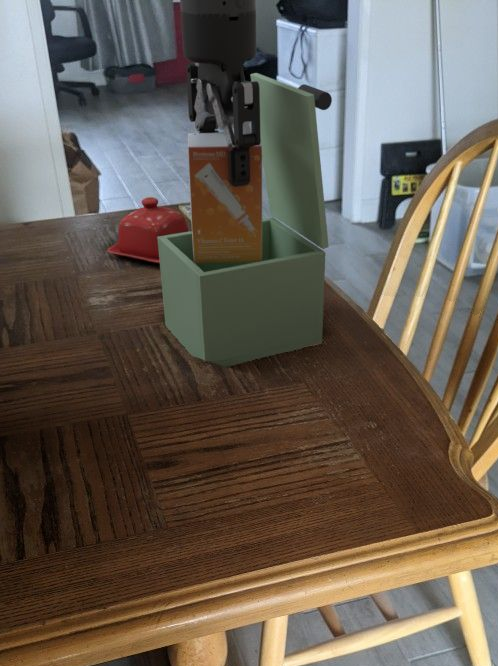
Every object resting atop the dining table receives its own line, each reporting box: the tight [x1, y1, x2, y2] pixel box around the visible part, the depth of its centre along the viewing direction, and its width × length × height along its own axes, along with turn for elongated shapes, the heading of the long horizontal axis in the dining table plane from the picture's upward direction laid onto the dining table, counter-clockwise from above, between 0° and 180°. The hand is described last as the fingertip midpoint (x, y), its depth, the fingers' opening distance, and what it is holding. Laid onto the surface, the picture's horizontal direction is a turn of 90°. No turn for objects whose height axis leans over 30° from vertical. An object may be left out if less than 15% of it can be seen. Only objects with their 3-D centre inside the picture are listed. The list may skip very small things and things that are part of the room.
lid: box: [250, 72, 333, 250], centre depth 91 cm, size 17×14×5 cm
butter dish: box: [106, 196, 190, 264], centre depth 121 cm, size 12×12×8 cm
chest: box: [157, 216, 326, 368], centre depth 96 cm, size 16×14×12 cm
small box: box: [187, 131, 263, 264], centre depth 89 cm, size 8×6×13 cm
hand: (224, 175), depth 87 cm, fingers closed on small box, 7 cm apart
